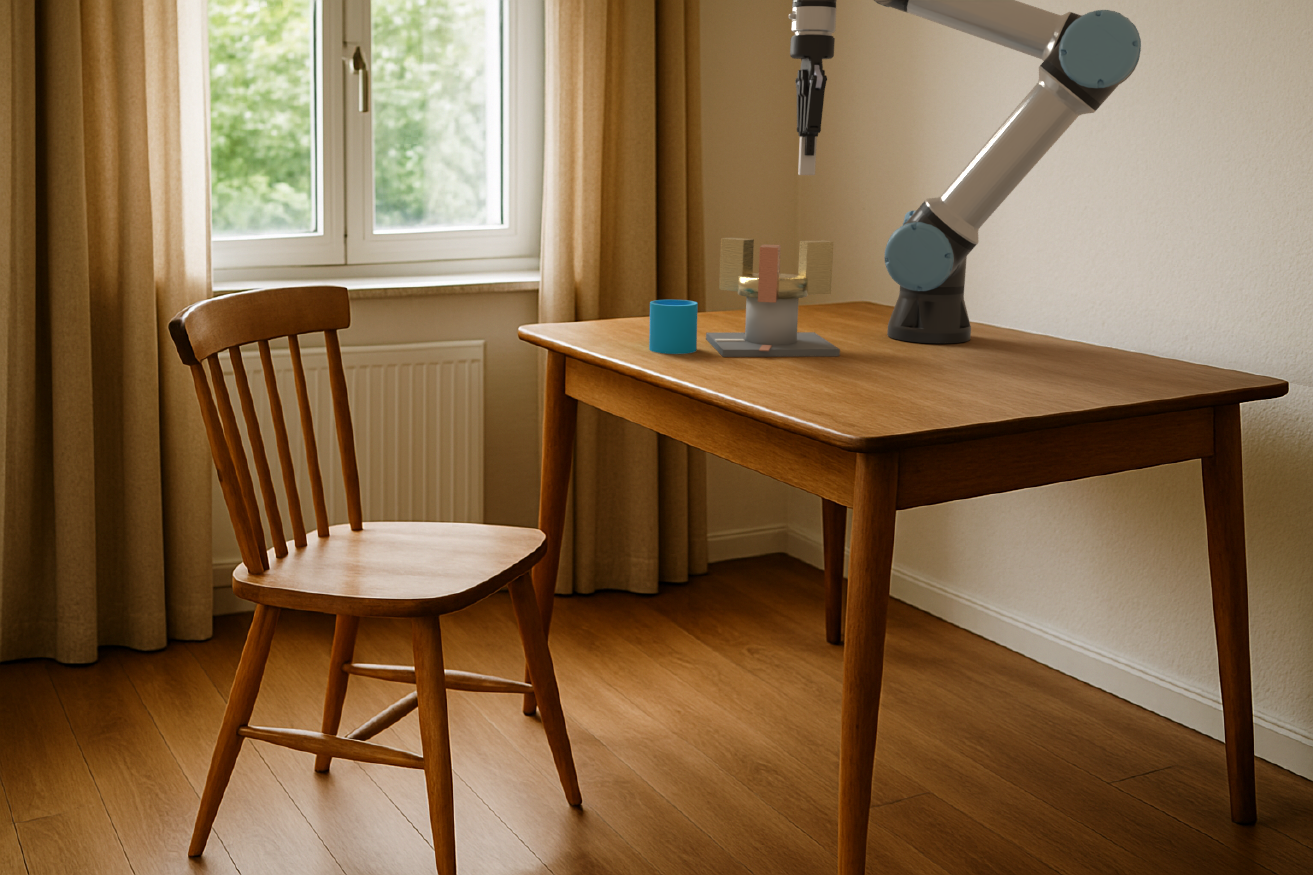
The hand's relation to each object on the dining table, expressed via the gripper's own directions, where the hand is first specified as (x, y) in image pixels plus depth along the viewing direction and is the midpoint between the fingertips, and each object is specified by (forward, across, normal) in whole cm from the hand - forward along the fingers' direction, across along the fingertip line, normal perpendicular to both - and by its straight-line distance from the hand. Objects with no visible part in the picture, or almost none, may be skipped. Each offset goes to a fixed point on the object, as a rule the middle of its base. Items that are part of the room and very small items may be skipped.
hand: (806, 174), depth 220 cm
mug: (+30, +8, -25) cm, 40 cm away
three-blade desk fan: (+20, +10, -8) cm, 24 cm away
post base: (+29, +8, -7) cm, 31 cm away
